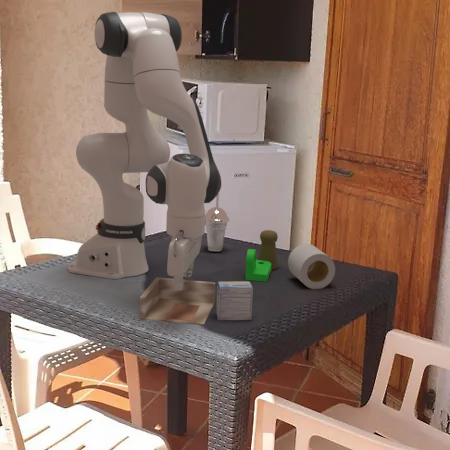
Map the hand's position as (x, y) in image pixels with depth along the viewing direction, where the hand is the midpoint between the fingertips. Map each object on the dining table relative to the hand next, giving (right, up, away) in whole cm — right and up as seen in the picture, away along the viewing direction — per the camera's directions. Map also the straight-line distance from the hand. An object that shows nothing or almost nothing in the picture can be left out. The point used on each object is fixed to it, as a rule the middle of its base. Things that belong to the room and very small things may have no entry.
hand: (183, 282), depth 157 cm
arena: (-1, -7, +3) cm, 8 cm away
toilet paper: (+33, -3, +29) cm, 44 cm away
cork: (+22, +1, +42) cm, 48 cm away
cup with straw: (+7, +5, +58) cm, 59 cm away
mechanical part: (+20, -1, +35) cm, 40 cm away
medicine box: (+12, -9, +1) cm, 15 cm away
